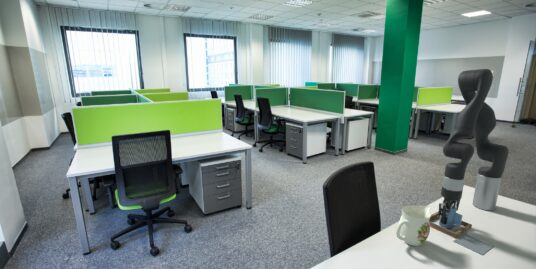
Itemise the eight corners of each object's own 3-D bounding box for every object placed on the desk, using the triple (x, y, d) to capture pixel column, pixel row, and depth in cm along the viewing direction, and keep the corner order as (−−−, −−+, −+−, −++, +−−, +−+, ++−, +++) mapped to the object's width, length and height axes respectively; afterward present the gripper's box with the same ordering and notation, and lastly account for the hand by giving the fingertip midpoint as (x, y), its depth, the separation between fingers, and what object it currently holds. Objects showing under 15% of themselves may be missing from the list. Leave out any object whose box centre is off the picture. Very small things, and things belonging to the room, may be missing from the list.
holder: (438, 214, 130) (438, 211, 129) (471, 228, 118) (472, 224, 117) (421, 222, 122) (422, 219, 122) (455, 238, 111) (456, 234, 110)
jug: (436, 224, 121) (439, 206, 119) (442, 220, 124) (445, 203, 122) (456, 233, 114) (459, 214, 112) (462, 229, 117) (465, 210, 115)
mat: (465, 233, 114) (465, 233, 114) (493, 246, 106) (493, 245, 105) (453, 241, 109) (453, 240, 109) (482, 255, 101) (482, 254, 100)
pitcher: (383, 240, 110) (387, 210, 107) (413, 229, 117) (416, 200, 114) (407, 256, 100) (411, 223, 97) (437, 243, 108) (442, 212, 105)
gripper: (451, 180, 123) (446, 213, 126) (434, 187, 115) (429, 222, 119) (470, 186, 116) (463, 220, 120) (453, 193, 109) (447, 230, 113)
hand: (446, 221), depth 120 cm, fingers closed on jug, 5 cm apart
